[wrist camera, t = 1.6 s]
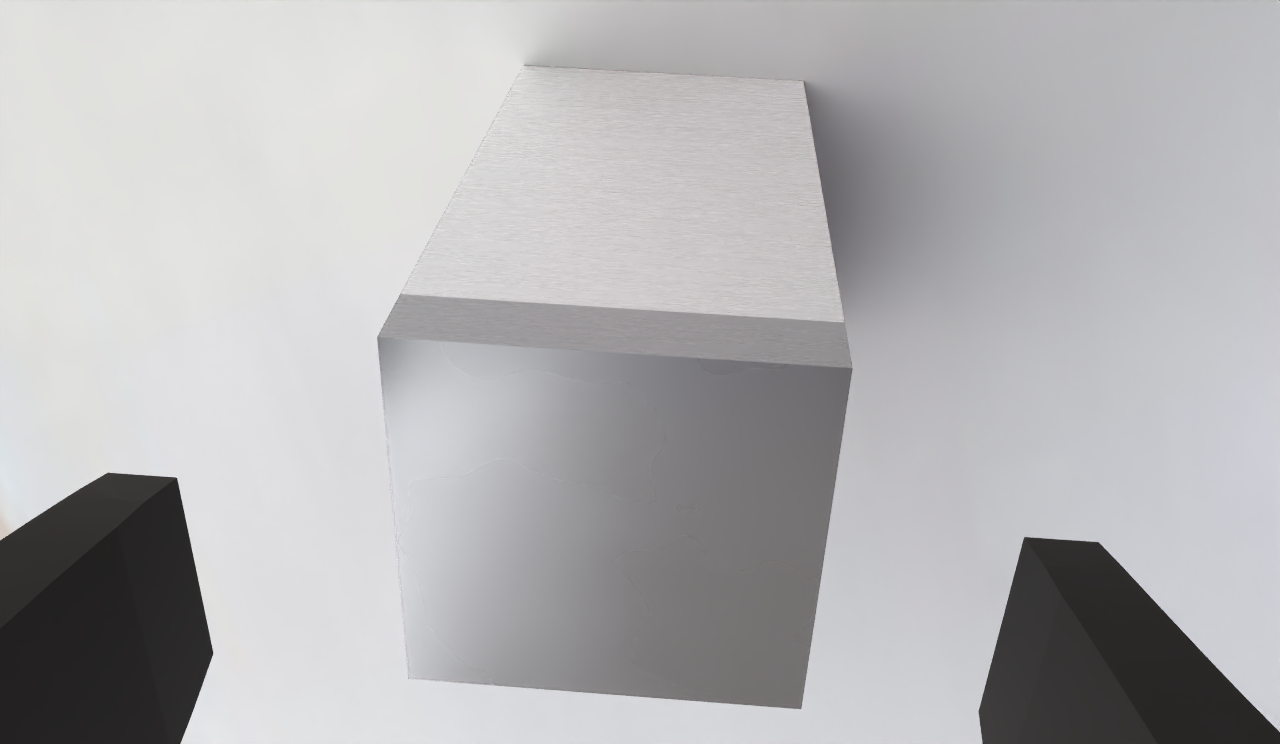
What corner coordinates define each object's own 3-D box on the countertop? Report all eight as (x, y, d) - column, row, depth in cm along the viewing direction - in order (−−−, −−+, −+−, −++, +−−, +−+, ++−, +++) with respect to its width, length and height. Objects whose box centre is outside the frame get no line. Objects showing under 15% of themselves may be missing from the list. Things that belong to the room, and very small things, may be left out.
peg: (803, 80, 17) (852, 368, 10) (776, 328, 19) (800, 708, 12) (522, 65, 17) (376, 336, 10) (526, 312, 19) (407, 678, 12)
